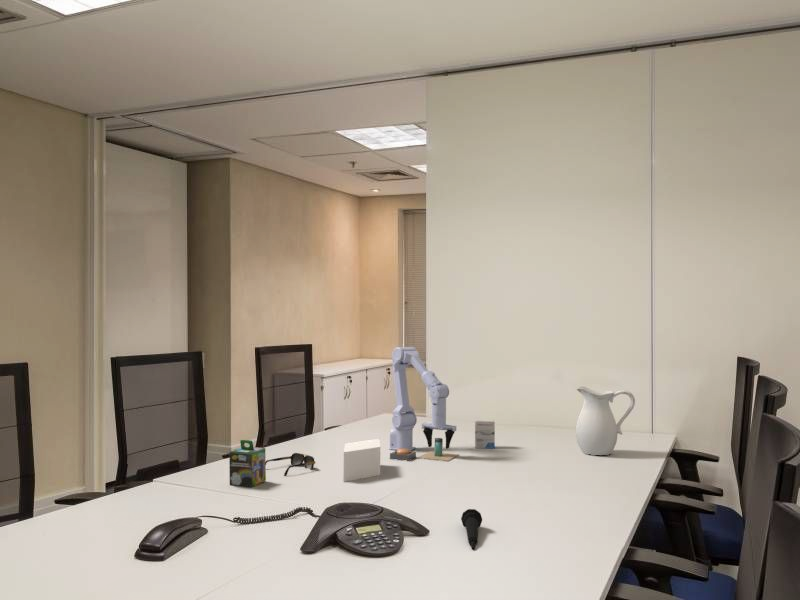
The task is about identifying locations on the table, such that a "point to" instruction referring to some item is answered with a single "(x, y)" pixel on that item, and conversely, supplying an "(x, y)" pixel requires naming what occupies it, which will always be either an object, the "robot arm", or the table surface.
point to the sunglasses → (297, 461)
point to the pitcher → (599, 421)
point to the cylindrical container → (438, 447)
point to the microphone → (471, 525)
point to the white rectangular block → (361, 459)
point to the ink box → (484, 434)
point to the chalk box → (247, 465)
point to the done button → (403, 451)
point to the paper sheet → (444, 457)
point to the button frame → (402, 456)
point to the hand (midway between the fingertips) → (438, 447)
